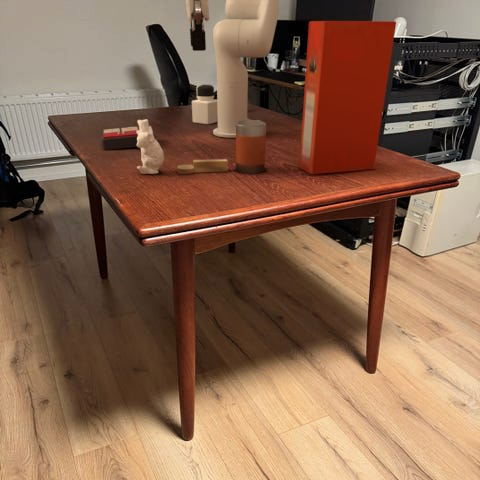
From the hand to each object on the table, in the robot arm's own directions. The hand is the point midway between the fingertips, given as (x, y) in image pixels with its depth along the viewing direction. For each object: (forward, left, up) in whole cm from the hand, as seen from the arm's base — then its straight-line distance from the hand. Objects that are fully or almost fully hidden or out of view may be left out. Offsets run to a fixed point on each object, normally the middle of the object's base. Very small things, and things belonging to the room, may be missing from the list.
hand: (198, 48), depth 119 cm
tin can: (-5, +20, -26) cm, 33 cm away
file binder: (-26, +28, -26) cm, 46 cm away
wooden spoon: (+7, +16, -26) cm, 31 cm away
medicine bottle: (-19, -41, -26) cm, 52 cm away
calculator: (+15, -19, -26) cm, 36 cm away
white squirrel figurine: (+18, +11, -26) cm, 34 cm away
